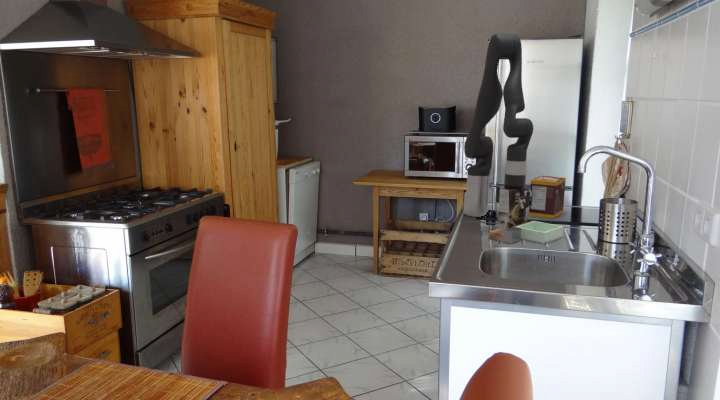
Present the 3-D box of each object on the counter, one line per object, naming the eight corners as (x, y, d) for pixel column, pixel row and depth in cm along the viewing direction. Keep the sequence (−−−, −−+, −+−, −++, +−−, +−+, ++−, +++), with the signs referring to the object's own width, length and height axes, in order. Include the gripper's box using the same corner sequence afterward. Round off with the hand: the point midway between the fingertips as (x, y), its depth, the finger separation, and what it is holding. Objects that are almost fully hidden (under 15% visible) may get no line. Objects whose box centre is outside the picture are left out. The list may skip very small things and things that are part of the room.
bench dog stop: (503, 242, 185) (504, 229, 184) (512, 239, 189) (513, 226, 188) (511, 244, 182) (511, 231, 182) (520, 240, 186) (521, 228, 186)
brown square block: (488, 239, 189) (489, 231, 188) (497, 236, 193) (498, 228, 192) (503, 243, 185) (503, 234, 184) (512, 239, 189) (513, 231, 188)
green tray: (513, 237, 191) (514, 226, 190) (533, 231, 200) (533, 220, 199) (544, 244, 182) (544, 232, 182) (562, 237, 192) (563, 226, 191)
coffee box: (508, 233, 196) (511, 190, 193) (496, 229, 202) (499, 187, 199) (526, 230, 200) (529, 188, 197) (514, 227, 206) (517, 186, 203)
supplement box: (563, 212, 232) (566, 177, 229) (552, 219, 220) (555, 181, 217) (539, 209, 238) (542, 175, 235) (528, 215, 226) (530, 179, 223)
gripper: (492, 171, 199) (490, 214, 203) (527, 176, 189) (524, 221, 192) (503, 169, 204) (501, 211, 208) (538, 173, 194) (535, 217, 197)
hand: (512, 216), depth 200 cm, fingers closed on coffee box, 7 cm apart
